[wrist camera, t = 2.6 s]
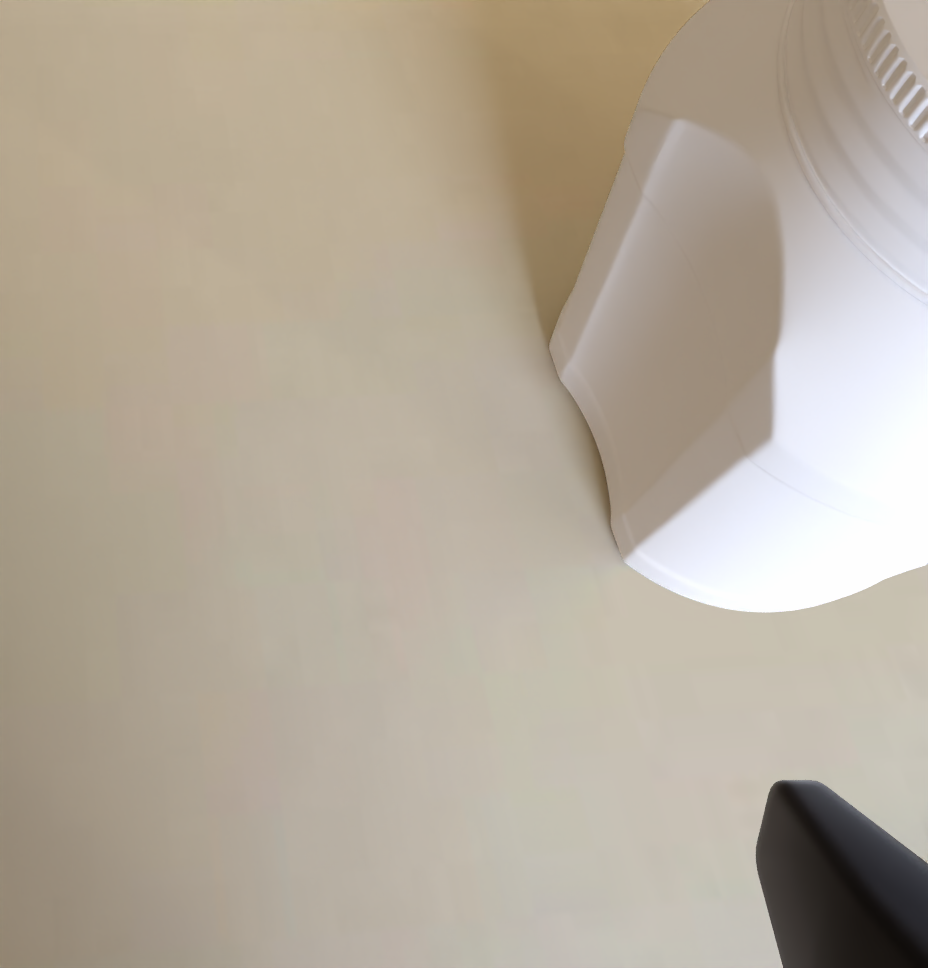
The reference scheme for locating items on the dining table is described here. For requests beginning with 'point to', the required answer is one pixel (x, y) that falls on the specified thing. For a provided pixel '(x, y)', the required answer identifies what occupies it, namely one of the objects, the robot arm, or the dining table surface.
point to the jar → (765, 307)
